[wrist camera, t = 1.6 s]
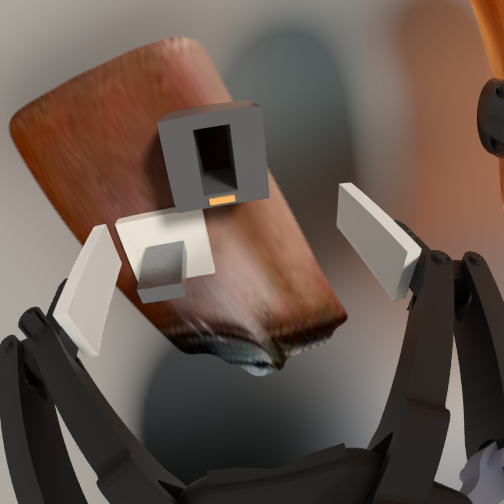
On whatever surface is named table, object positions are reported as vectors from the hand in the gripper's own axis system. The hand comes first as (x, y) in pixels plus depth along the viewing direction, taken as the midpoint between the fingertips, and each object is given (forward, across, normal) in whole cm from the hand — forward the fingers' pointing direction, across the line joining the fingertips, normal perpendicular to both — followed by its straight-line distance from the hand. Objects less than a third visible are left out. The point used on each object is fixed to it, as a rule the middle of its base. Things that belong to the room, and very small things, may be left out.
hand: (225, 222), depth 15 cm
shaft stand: (+18, +8, +12) cm, 23 cm away
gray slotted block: (+18, 0, 0) cm, 18 cm away
